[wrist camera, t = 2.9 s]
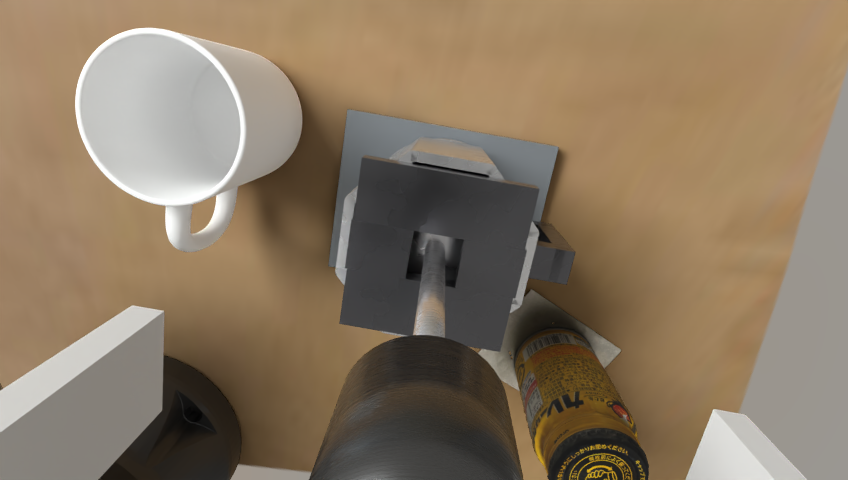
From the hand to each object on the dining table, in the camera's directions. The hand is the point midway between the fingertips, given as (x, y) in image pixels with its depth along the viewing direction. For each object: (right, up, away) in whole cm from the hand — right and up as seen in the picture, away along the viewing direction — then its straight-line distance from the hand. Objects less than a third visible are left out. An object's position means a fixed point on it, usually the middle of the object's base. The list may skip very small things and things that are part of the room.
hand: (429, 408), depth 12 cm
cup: (-13, +11, +22) cm, 27 cm away
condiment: (+9, -5, +25) cm, 27 cm away
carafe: (+2, +6, +22) cm, 22 cm away
